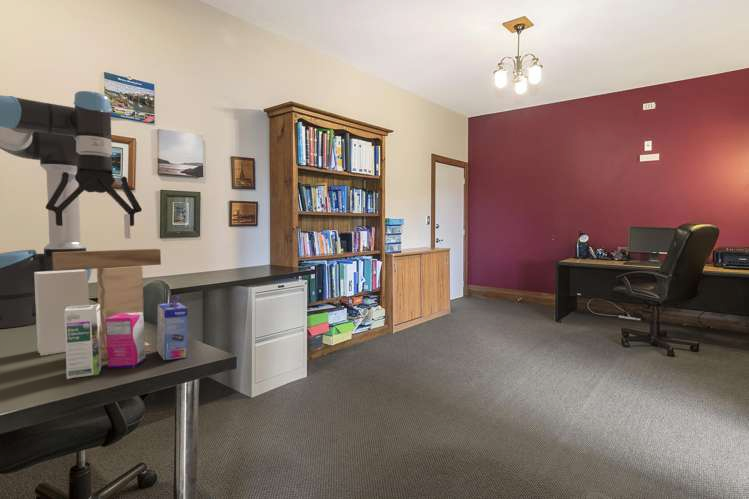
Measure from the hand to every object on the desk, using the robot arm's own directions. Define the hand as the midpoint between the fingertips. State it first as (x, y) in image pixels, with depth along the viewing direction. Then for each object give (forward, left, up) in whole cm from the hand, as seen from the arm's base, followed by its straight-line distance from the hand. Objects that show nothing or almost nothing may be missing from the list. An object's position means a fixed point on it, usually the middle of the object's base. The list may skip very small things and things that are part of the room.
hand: (97, 239), depth 105 cm
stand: (+8, +3, -28) cm, 29 cm away
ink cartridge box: (+20, +11, -28) cm, 36 cm away
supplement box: (+20, +1, -28) cm, 35 cm away
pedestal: (-4, -7, -28) cm, 29 cm away
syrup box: (+20, -7, -28) cm, 35 cm away
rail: (+8, +1, -7) cm, 10 cm away
